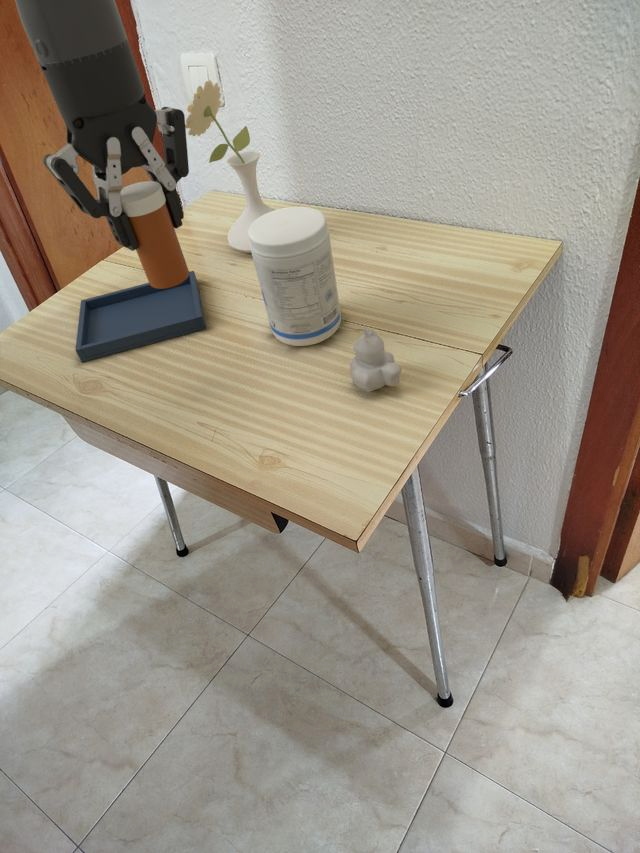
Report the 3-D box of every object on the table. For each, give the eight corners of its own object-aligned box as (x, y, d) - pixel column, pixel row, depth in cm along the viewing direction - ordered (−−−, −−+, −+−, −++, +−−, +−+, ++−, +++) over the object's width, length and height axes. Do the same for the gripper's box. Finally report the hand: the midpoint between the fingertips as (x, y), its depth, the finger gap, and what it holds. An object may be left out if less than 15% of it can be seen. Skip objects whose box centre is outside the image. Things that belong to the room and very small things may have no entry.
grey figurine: (367, 363, 71) (360, 307, 66) (414, 380, 68) (411, 322, 62) (340, 389, 68) (331, 333, 63) (388, 408, 65) (382, 351, 59)
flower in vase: (270, 220, 104) (234, 58, 86) (311, 237, 97) (280, 65, 79) (209, 251, 99) (157, 86, 81) (247, 271, 92) (200, 96, 74)
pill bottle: (148, 293, 62) (112, 206, 55) (147, 272, 65) (114, 188, 58) (192, 282, 62) (161, 194, 55) (189, 262, 65) (160, 176, 59)
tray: (81, 362, 81) (75, 350, 79) (86, 311, 91) (80, 300, 89) (206, 328, 82) (201, 316, 81) (197, 282, 92) (193, 270, 90)
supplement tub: (271, 313, 82) (246, 212, 72) (338, 301, 82) (323, 198, 72) (272, 355, 75) (245, 250, 65) (346, 342, 75) (330, 234, 65)
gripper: (133, 18, 54) (190, 200, 65) (-18, 67, 48) (75, 257, 60) (176, 21, 49) (230, 216, 61) (16, 75, 43) (109, 279, 55)
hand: (153, 235), depth 60 cm, fingers closed on pill bottle, 4 cm apart
